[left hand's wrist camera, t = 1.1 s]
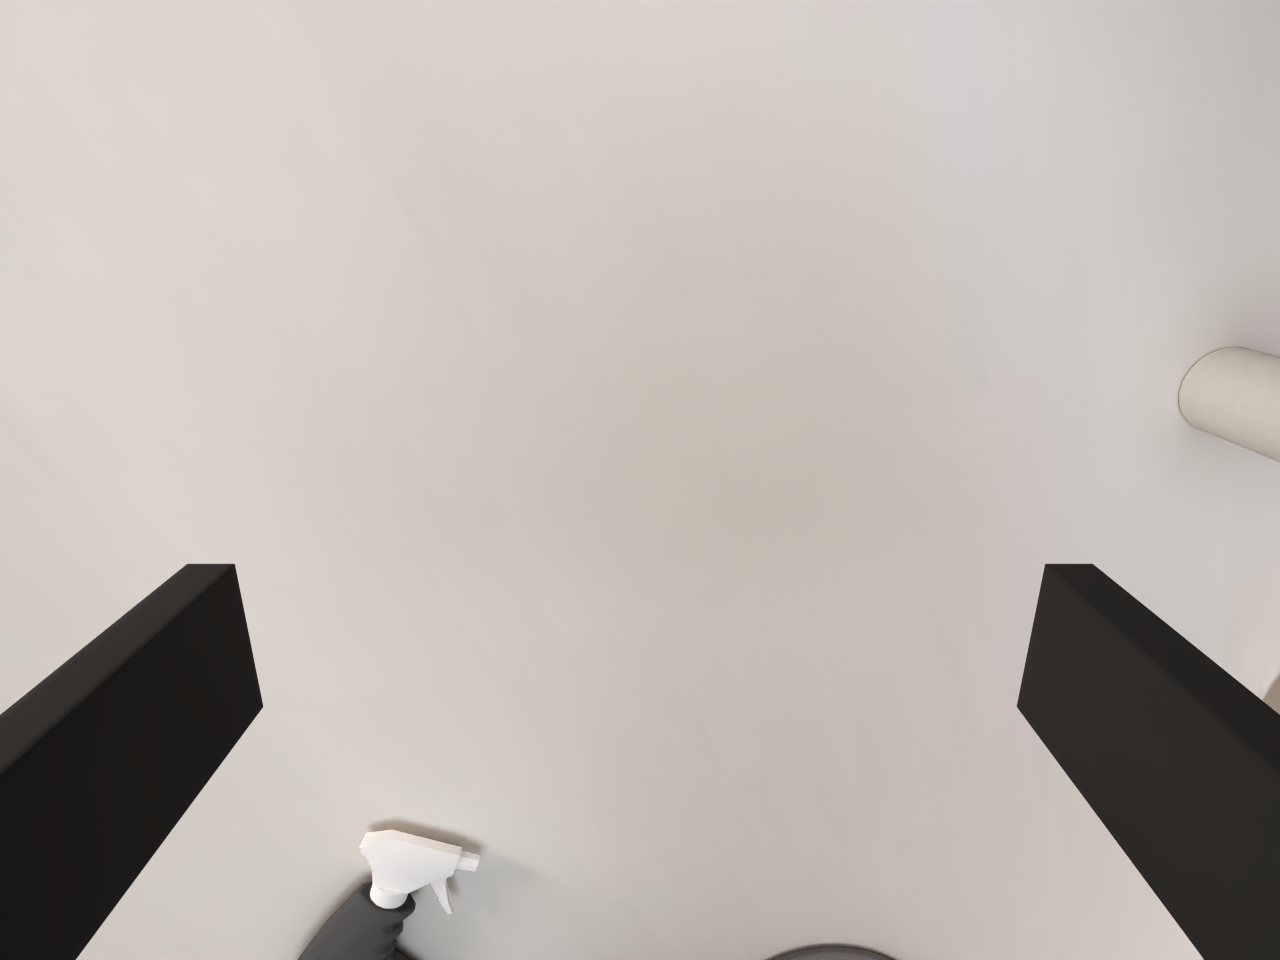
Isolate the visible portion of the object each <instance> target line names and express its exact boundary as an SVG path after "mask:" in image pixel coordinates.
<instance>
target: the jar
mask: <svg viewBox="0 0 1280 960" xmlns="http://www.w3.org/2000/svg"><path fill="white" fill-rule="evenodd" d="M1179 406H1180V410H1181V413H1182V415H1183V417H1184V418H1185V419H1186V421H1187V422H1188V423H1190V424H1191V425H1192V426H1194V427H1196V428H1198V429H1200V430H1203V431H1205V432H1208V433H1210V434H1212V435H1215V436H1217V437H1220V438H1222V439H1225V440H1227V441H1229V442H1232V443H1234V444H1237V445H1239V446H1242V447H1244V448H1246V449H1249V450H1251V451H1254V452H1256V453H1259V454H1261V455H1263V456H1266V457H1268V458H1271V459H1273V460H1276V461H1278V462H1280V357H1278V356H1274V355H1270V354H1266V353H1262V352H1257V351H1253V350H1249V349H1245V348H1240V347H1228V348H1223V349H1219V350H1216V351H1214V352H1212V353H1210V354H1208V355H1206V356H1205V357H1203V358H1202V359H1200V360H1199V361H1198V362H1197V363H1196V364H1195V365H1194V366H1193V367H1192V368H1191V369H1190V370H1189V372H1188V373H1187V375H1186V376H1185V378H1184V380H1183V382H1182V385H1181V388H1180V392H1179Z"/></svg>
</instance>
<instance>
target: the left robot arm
mask: <svg viewBox="0 0 1280 960" xmlns="http://www.w3.org/2000/svg"><path fill="white" fill-rule="evenodd" d="M262 708H263V703H262V698H261V693H260V688H259V683H258V678H257V673H256V668H255V663H254V658H253V653H252V648H251V643H250V638H249V633H248V628H247V623H246V618H245V613H244V608H243V603H242V598H241V593H240V588H239V583H238V578H237V573H236V568H235V564H187V565H185V566H184V567H183V568H182V569H181V570H179V571H178V572H177V573H176V574H174V575H173V576H172V577H171V578H169V579H168V580H167V581H166V582H164V583H163V584H162V585H161V586H159V587H158V588H157V589H156V590H154V591H153V592H152V593H151V594H150V595H148V596H147V597H146V598H145V599H143V600H142V601H141V602H140V603H138V604H137V605H136V606H135V607H133V608H132V609H131V610H130V611H128V612H127V613H126V614H125V615H123V616H122V617H121V618H120V619H119V620H117V621H116V622H115V623H114V624H112V625H111V626H110V627H109V628H107V629H106V630H105V631H104V632H102V633H101V634H100V635H99V636H97V637H96V638H95V639H94V640H93V641H91V642H90V643H89V644H88V645H86V646H85V647H84V648H83V649H81V650H80V651H79V652H78V653H76V654H75V655H74V656H73V657H71V658H70V659H69V660H68V661H66V662H65V663H64V664H63V665H62V666H60V667H59V668H58V669H57V670H55V671H54V672H53V673H52V674H50V675H49V676H48V677H47V678H45V679H44V680H43V681H42V682H40V683H39V684H38V685H37V686H35V687H34V688H33V689H32V690H31V691H29V692H28V693H27V694H26V695H24V696H23V697H22V698H21V699H19V700H18V701H17V702H16V703H14V704H13V705H12V706H11V707H9V708H8V709H7V710H6V711H5V712H3V713H2V714H1V715H0V960H76V958H77V957H78V956H79V954H80V953H81V952H82V950H83V949H84V948H85V946H86V945H87V944H88V942H89V941H90V940H91V938H92V937H93V936H94V934H95V933H96V932H97V930H98V929H99V927H100V926H101V925H102V923H103V922H104V921H105V919H106V918H107V917H108V915H109V914H110V913H111V911H112V910H113V909H114V907H115V906H116V905H117V903H118V902H119V901H120V899H121V898H122V896H123V895H124V894H125V892H126V891H127V890H128V888H129V887H130V886H131V884H132V883H133V882H134V880H135V879H136V878H137V876H138V875H139V874H140V872H141V871H142V869H143V868H144V867H145V865H146V864H147V863H148V861H149V860H150V859H151V857H152V856H153V855H154V853H155V852H156V851H157V849H158V848H159V847H160V845H161V844H162V843H163V841H164V840H165V838H166V837H167V836H168V834H169V833H170V832H171V830H172V829H173V828H174V826H175V825H176V824H177V822H178V821H179V820H180V818H181V817H182V816H183V814H184V813H185V812H186V810H187V809H188V807H189V806H190V805H191V803H192V802H193V801H194V799H195V798H196V797H197V795H198V794H199V793H200V791H201V790H202V789H203V787H204V786H205V785H206V783H207V782H208V781H209V779H210V778H211V776H212V775H213V774H214V772H215V771H216V770H217V768H218V767H219V766H220V764H221V763H222V762H223V760H224V759H225V758H226V756H227V755H228V754H229V752H230V751H231V749H232V748H233V747H234V745H235V744H236V743H237V741H238V740H239V739H240V737H241V736H242V735H243V733H244V732H245V731H246V729H247V728H248V727H249V725H250V724H251V723H252V721H253V720H254V718H255V717H256V716H257V714H258V713H259V712H260V710H261V709H262ZM1017 708H1018V709H1019V710H1020V712H1021V713H1022V714H1023V716H1024V717H1025V718H1026V720H1027V721H1028V723H1029V724H1030V725H1031V727H1032V728H1033V729H1034V731H1035V732H1036V733H1037V735H1038V736H1039V737H1040V739H1041V740H1042V741H1043V743H1044V744H1045V745H1046V747H1047V748H1048V750H1049V751H1050V752H1051V754H1052V755H1053V756H1054V758H1055V759H1056V760H1057V762H1058V763H1059V764H1060V766H1061V767H1062V768H1063V770H1064V771H1065V772H1066V774H1067V775H1068V776H1069V778H1070V779H1071V781H1072V782H1073V783H1074V785H1075V786H1076V787H1077V789H1078V790H1079V791H1080V793H1081V794H1082V795H1083V797H1084V798H1085V799H1086V801H1087V802H1088V803H1089V805H1090V806H1091V807H1092V809H1093V810H1094V812H1095V813H1096V814H1097V816H1098V817H1099V818H1100V820H1101V821H1102V822H1103V824H1104V825H1105V826H1106V828H1107V829H1108V830H1109V832H1110V833H1111V834H1112V836H1113V837H1114V838H1115V840H1116V841H1117V843H1118V844H1119V845H1120V847H1121V848H1122V849H1123V851H1124V852H1125V853H1126V855H1127V856H1128V857H1129V859H1130V860H1131V861H1132V863H1133V864H1134V865H1135V867H1136V868H1137V869H1138V871H1139V872H1140V874H1141V875H1142V876H1143V878H1144V879H1145V880H1146V882H1147V883H1148V884H1149V886H1150V887H1151V888H1152V890H1153V891H1154V892H1155V894H1156V895H1157V896H1158V898H1159V899H1160V901H1161V902H1162V903H1163V905H1164V906H1165V907H1166V909H1167V910H1168V911H1169V913H1170V914H1171V915H1172V917H1173V918H1174V919H1175V921H1176V922H1177V923H1178V925H1179V926H1180V927H1181V929H1182V930H1183V932H1184V933H1185V934H1186V936H1187V937H1188V938H1189V940H1190V941H1191V942H1192V944H1193V945H1194V946H1195V948H1196V949H1197V950H1198V952H1199V953H1200V954H1201V956H1202V957H1203V958H1204V960H1280V715H1279V714H1278V713H1277V712H1275V711H1274V710H1273V709H1272V708H1270V707H1269V706H1268V705H1267V704H1266V703H1264V702H1263V701H1262V700H1261V699H1259V698H1258V697H1257V696H1256V695H1254V694H1253V693H1252V692H1251V691H1249V690H1248V689H1247V688H1246V687H1245V686H1243V685H1242V684H1241V683H1240V682H1238V681H1237V680H1236V679H1235V678H1233V677H1232V676H1231V675H1230V674H1228V673H1227V672H1226V671H1225V670H1223V669H1222V668H1221V667H1220V666H1218V665H1217V664H1216V663H1215V662H1214V661H1212V660H1211V659H1210V658H1209V657H1207V656H1206V655H1205V654H1204V653H1202V652H1201V651H1200V650H1199V649H1197V648H1196V647H1195V646H1194V645H1192V644H1191V643H1190V642H1189V641H1187V640H1186V639H1185V638H1184V637H1183V636H1181V635H1180V634H1179V633H1178V632H1176V631H1175V630H1174V629H1173V628H1171V627H1170V626H1169V625H1168V624H1166V623H1165V622H1164V621H1163V620H1161V619H1160V618H1159V617H1158V616H1157V615H1155V614H1154V613H1153V612H1152V611H1150V610H1149V609H1148V608H1147V607H1145V606H1144V605H1143V604H1142V603H1140V602H1139V601H1138V600H1137V599H1135V598H1134V597H1133V596H1132V595H1130V594H1129V593H1128V592H1127V591H1126V590H1124V589H1123V588H1122V587H1121V586H1119V585H1118V584H1117V583H1116V582H1114V581H1113V580H1112V579H1111V578H1109V577H1108V576H1107V575H1106V574H1104V573H1103V572H1102V571H1101V570H1099V569H1098V568H1097V567H1096V566H1095V565H1093V564H1045V568H1044V573H1043V578H1042V583H1041V588H1040V593H1039V598H1038V603H1037V608H1036V613H1035V618H1034V623H1033V628H1032V633H1031V638H1030V643H1029V648H1028V653H1027V658H1026V663H1025V668H1024V673H1023V678H1022V683H1021V688H1020V693H1019V698H1018V703H1017ZM773 960H891V959H889V958H887V957H885V956H882V955H879V954H877V953H873V952H870V951H866V950H861V949H856V948H847V947H820V948H811V949H806V950H801V951H797V952H793V953H789V954H786V955H783V956H780V957H778V958H776V959H773Z"/></svg>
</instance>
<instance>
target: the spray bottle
mask: <svg viewBox="0 0 1280 960" xmlns="http://www.w3.org/2000/svg"><path fill="white" fill-rule="evenodd" d="M461 850H462V847H459V846H455V845H451V844H447V843H443V842H439V841H435V840H431V839H427V838H423V837H419V836H415V835H411V834H407V833H404V832H400V831H396V830H385V831H377V832H370V833H366V834H365V837H364V839H363V841H362V843H361V846H360V848H359V851H360V852H361V853H362V854H363V855H364V856H365V858H366V859H367V860H368V861H369V864H370V867H371V870H372V882H368V883H365V884H363V885H362V886H361V887H360V888H359V889H358V890H357V891H356V892H355V893H354V894H353V895H352V896H351V897H350V898H349V899H348V900H347V901H346V902H345V903H344V904H343V905H342V906H341V907H340V908H339V909H338V910H337V911H336V912H335V913H334V914H333V915H332V916H331V917H330V918H329V919H328V920H327V921H326V923H325V924H324V925H323V927H322V928H321V929H320V931H319V932H318V933H317V934H316V936H315V937H314V938H313V940H312V941H311V942H310V944H309V945H308V946H307V948H306V949H305V950H304V952H303V953H302V954H301V956H300V957H299V959H298V960H408V959H407V958H406V957H405V956H403V955H402V954H400V953H398V952H397V951H395V950H394V948H395V945H396V937H397V936H398V935H399V934H400V933H401V932H402V930H403V920H404V919H405V918H406V917H408V916H409V915H410V914H411V913H413V911H414V910H415V905H416V903H415V901H414V900H413V898H412V896H411V894H410V892H412V891H414V890H417V889H419V888H421V887H423V886H425V885H427V884H430V885H431V886H432V887H433V889H434V891H435V893H436V895H437V897H438V899H439V901H440V903H441V905H442V906H443V908H444V909H445V911H446V912H447V914H448V915H449V914H452V912H453V905H452V901H451V896H450V892H449V888H448V884H447V878H448V877H451V876H453V874H454V871H455V869H461V870H468V871H474V872H476V871H477V867H478V863H479V859H480V856H479V855H476V854H472V853H468V852H464V851H461Z"/></svg>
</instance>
